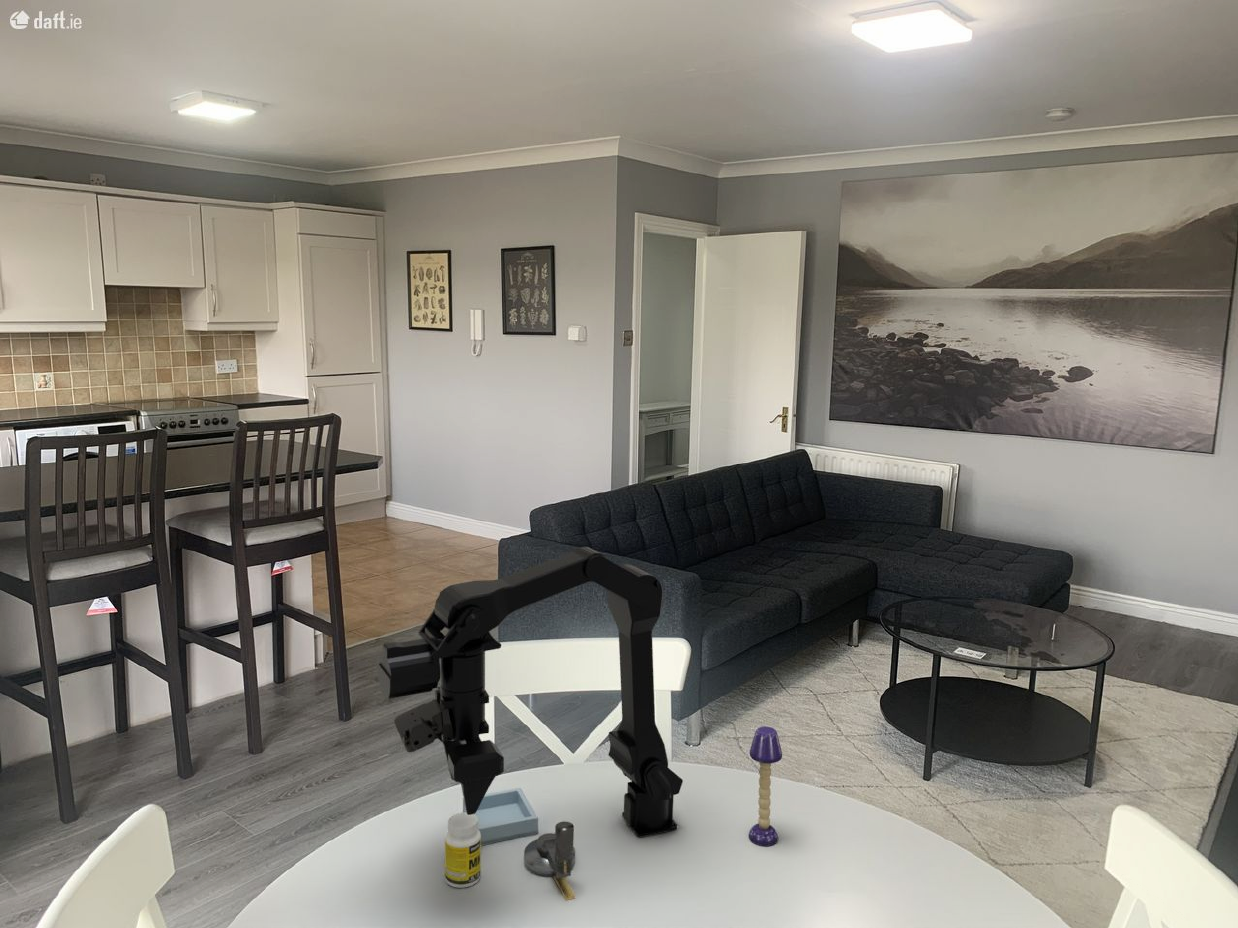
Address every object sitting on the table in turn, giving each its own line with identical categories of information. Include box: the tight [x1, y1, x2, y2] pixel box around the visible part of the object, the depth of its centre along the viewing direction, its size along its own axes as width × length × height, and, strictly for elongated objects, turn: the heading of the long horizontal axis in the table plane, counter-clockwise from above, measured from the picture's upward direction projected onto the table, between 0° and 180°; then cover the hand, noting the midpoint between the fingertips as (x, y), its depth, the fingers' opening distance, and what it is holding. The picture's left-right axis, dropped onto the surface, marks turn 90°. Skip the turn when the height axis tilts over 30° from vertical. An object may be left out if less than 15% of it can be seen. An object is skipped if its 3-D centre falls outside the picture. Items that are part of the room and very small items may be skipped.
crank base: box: [523, 838, 576, 901], centre depth 122 cm, size 7×12×2 cm, turn 22°
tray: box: [462, 787, 539, 846], centre depth 133 cm, size 9×9×2 cm
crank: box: [536, 821, 575, 878], centre depth 121 cm, size 10×4×7 cm, turn 21°
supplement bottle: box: [444, 811, 482, 889], centre depth 120 cm, size 5×5×8 cm
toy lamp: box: [748, 725, 783, 847], centre depth 131 cm, size 5×5×17 cm
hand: (463, 795), depth 119 cm, fingers open, 9 cm apart
